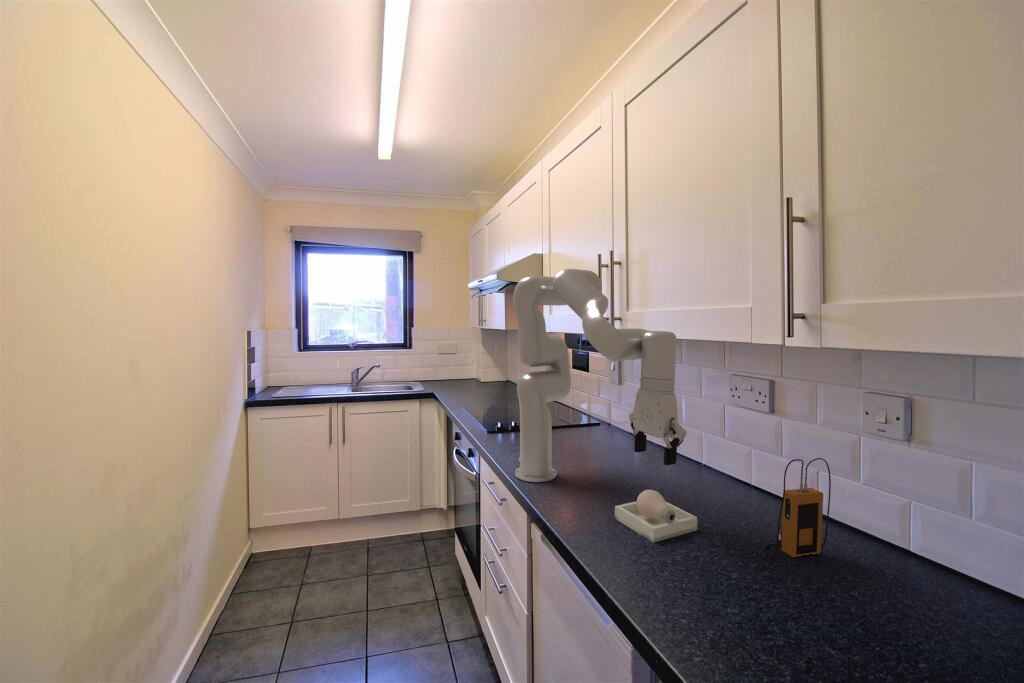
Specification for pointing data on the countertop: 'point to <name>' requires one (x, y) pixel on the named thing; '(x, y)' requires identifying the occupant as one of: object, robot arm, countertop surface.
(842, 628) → the countertop surface
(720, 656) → the countertop surface
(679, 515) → the tray
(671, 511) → the light bulb
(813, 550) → the multimeter
